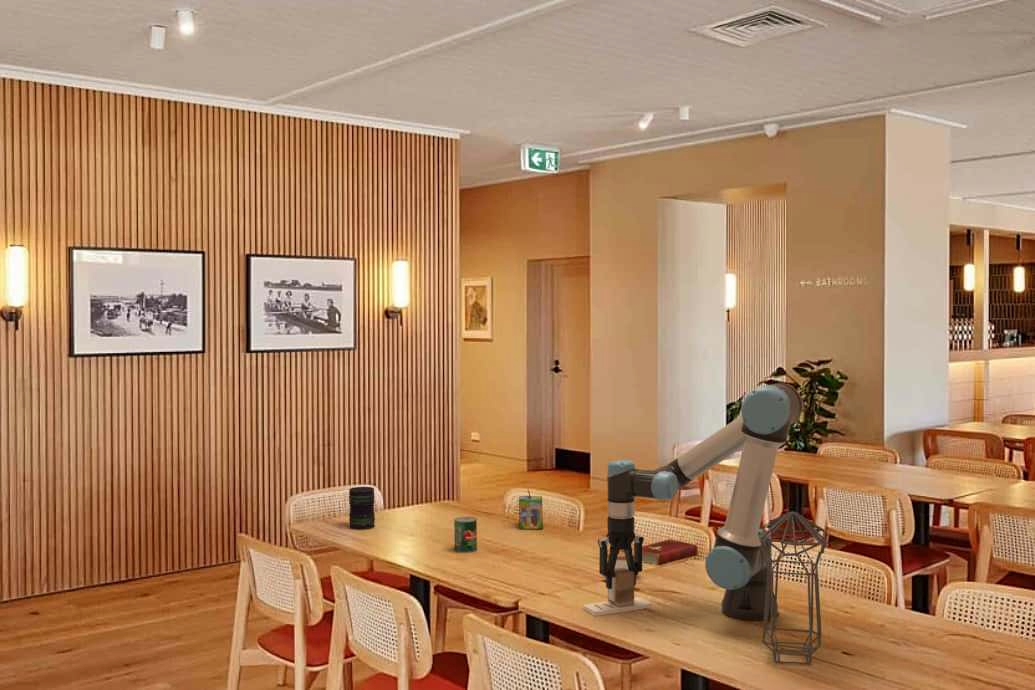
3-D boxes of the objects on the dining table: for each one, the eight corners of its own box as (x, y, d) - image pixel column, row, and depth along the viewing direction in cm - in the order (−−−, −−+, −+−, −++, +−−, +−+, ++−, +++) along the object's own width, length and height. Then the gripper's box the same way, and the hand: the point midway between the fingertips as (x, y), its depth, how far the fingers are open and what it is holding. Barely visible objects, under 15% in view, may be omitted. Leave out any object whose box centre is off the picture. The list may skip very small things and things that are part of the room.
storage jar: (353, 524, 391) (353, 486, 391) (378, 524, 390) (377, 486, 390) (346, 529, 382) (345, 491, 381) (370, 530, 380) (370, 491, 380)
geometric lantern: (760, 644, 246) (760, 504, 244) (827, 650, 241) (827, 507, 240) (756, 666, 231) (756, 516, 229) (827, 672, 226) (827, 520, 225)
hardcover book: (697, 556, 337) (697, 543, 337) (657, 567, 323) (657, 554, 322) (670, 550, 346) (670, 538, 345) (630, 560, 331) (629, 548, 331)
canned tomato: (472, 553, 341) (471, 522, 341) (451, 552, 344) (450, 520, 344) (480, 548, 349) (480, 517, 349) (459, 546, 352) (459, 516, 351)
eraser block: (634, 604, 276) (634, 572, 275) (618, 606, 274) (618, 574, 273) (623, 598, 281) (623, 567, 281) (608, 601, 279) (607, 569, 279)
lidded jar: (638, 582, 304) (638, 551, 303) (603, 580, 306) (603, 550, 305) (641, 573, 314) (641, 543, 314) (607, 571, 316) (607, 542, 316)
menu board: (651, 607, 277) (651, 603, 277) (594, 616, 270) (594, 611, 270) (638, 601, 283) (638, 596, 283) (583, 609, 276) (583, 604, 276)
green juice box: (543, 529, 378) (542, 491, 378) (519, 529, 378) (518, 491, 378) (542, 524, 387) (542, 486, 387) (519, 524, 388) (518, 487, 387)
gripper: (642, 510, 283) (642, 591, 284) (585, 516, 276) (586, 598, 277) (655, 515, 277) (655, 598, 277) (598, 521, 269) (598, 606, 270)
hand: (621, 598), depth 277 cm, fingers closed on eraser block, 5 cm apart
